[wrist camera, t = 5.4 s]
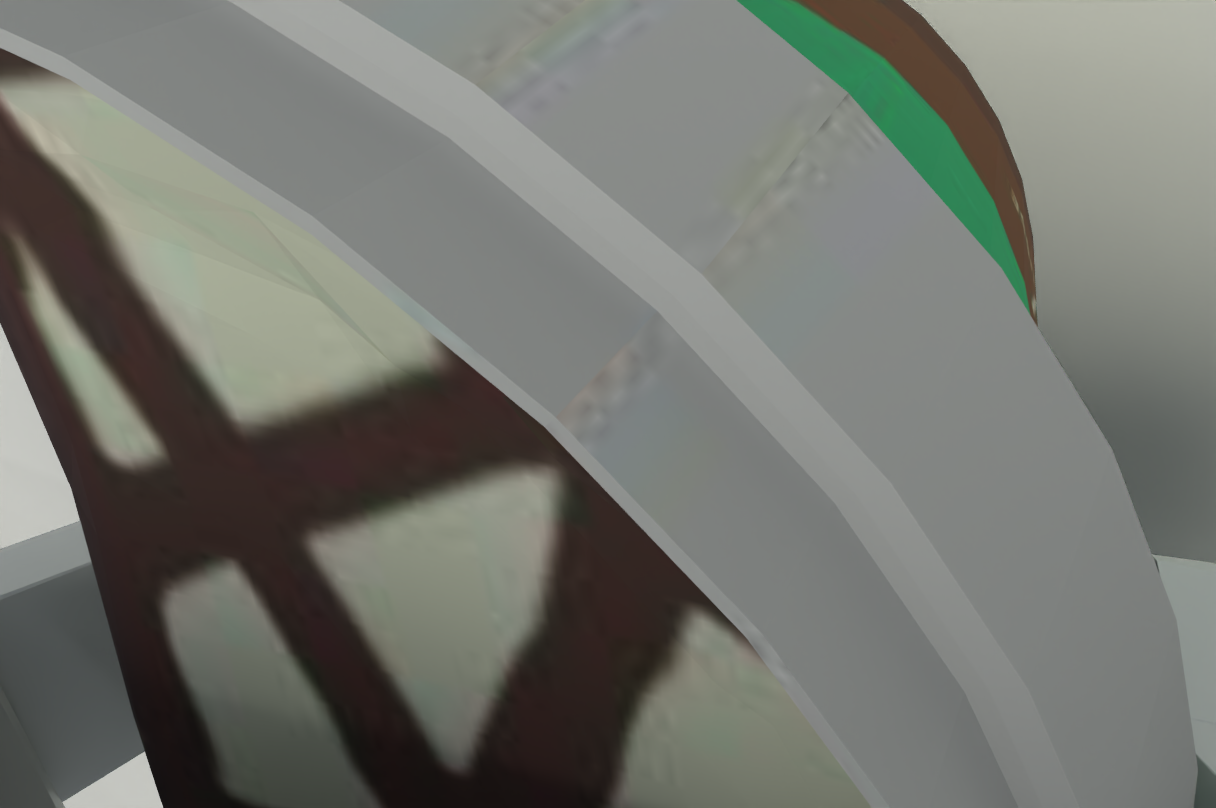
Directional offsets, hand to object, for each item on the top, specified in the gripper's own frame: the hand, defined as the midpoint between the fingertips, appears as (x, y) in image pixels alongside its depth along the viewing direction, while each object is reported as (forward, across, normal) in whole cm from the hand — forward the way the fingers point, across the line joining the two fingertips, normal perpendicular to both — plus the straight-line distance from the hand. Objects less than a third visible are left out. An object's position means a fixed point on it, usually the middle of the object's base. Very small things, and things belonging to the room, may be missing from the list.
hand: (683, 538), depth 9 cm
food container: (+6, -1, 0) cm, 6 cm away
